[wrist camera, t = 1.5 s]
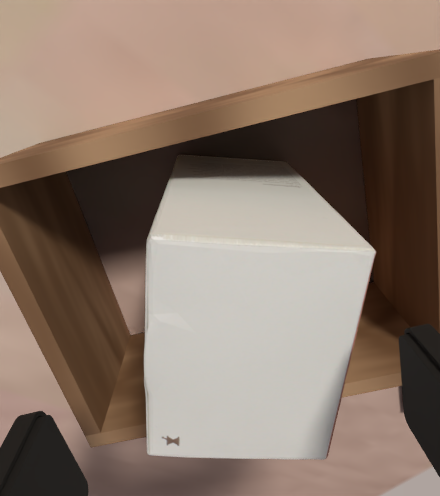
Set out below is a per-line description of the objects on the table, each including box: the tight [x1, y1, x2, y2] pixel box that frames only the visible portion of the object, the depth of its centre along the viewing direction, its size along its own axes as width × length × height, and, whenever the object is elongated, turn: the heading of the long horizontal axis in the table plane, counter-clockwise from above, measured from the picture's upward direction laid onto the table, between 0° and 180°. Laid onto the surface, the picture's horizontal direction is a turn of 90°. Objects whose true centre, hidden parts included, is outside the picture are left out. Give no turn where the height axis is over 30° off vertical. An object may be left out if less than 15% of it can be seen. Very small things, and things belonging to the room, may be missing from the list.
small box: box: [144, 155, 376, 459], centre depth 18 cm, size 8×6×13 cm
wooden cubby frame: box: [0, 50, 440, 447], centre depth 20 cm, size 18×14×8 cm
